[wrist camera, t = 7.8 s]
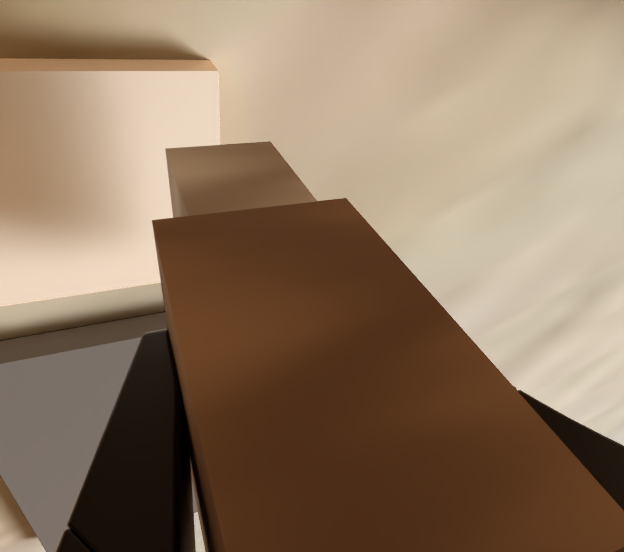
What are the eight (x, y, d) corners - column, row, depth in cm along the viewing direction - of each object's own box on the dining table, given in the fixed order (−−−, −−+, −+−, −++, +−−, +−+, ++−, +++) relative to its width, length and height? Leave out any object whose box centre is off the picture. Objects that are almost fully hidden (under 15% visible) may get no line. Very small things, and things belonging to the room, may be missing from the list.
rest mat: (322, 284, 18) (332, 300, 17) (301, 459, 25) (307, 476, 24) (-53, 350, 14) (-60, 375, 13) (51, 535, 21) (50, 558, 20)
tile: (218, 71, 11) (-231, 72, 8) (223, 273, 15) (-88, 319, 12) (205, 54, 12) (-196, 51, 9) (213, 246, 16) (-74, 284, 13)
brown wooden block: (294, 140, 9) (644, 536, 4) (283, 323, 12) (463, 699, 7) (136, 150, 8) (264, 727, 3) (166, 347, 11) (256, 815, 6)
